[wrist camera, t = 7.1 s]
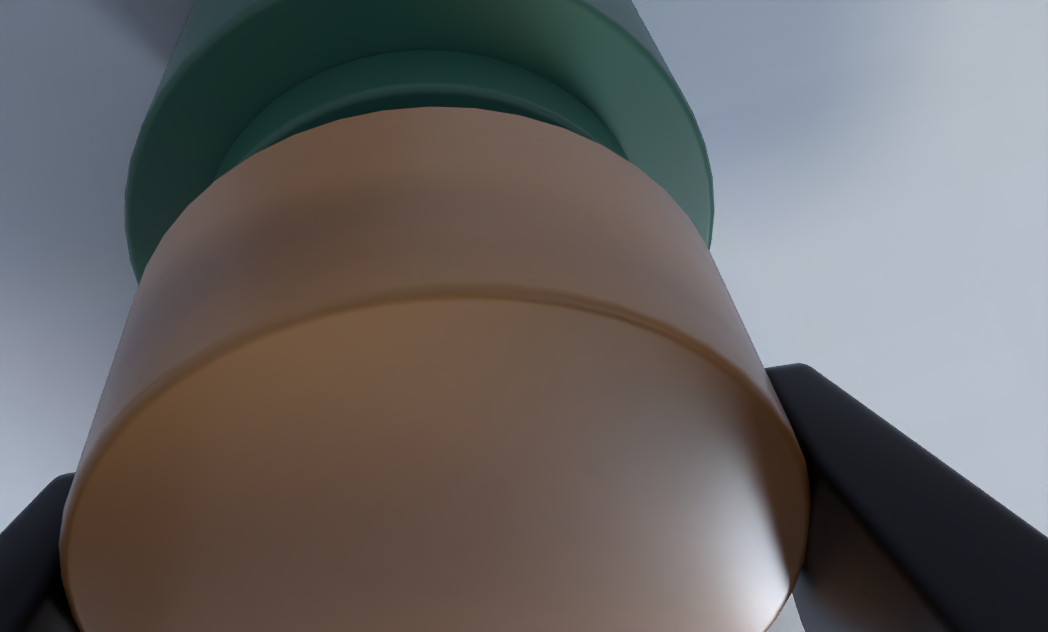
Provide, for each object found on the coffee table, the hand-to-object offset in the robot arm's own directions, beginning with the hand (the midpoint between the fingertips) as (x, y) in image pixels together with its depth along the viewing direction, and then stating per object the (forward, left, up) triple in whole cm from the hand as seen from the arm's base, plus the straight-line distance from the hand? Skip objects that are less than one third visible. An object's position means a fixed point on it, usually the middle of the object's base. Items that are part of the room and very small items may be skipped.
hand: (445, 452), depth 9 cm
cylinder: (0, 0, -1) cm, 1 cm away
